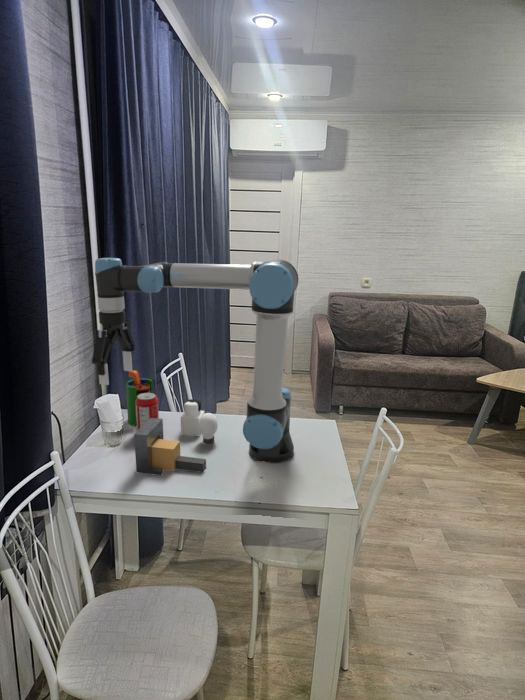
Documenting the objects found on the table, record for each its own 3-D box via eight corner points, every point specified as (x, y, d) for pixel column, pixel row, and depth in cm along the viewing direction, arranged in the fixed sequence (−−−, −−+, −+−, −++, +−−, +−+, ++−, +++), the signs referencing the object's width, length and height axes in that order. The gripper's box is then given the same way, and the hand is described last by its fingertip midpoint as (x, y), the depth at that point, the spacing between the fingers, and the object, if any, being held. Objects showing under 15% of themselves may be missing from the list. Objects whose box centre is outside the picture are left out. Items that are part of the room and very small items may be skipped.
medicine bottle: (186, 426, 168) (186, 396, 165) (205, 427, 167) (204, 398, 164) (180, 434, 161) (179, 404, 158) (199, 436, 160) (199, 405, 157)
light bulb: (221, 440, 157) (221, 412, 154) (210, 448, 152) (210, 419, 149) (205, 436, 160) (205, 408, 157) (194, 443, 155) (194, 414, 152)
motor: (144, 427, 166) (142, 377, 161) (123, 424, 168) (119, 375, 162) (156, 416, 176) (154, 368, 170) (135, 414, 177) (132, 367, 172)
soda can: (140, 440, 156) (138, 401, 152) (134, 432, 162) (132, 393, 158) (162, 436, 160) (160, 397, 156) (155, 427, 166) (154, 390, 162)
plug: (207, 465, 141) (207, 444, 139) (202, 474, 136) (201, 452, 134) (157, 459, 144) (156, 438, 142) (150, 468, 138) (148, 446, 136)
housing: (175, 456, 146) (174, 420, 142) (160, 475, 135) (159, 436, 131) (152, 453, 147) (151, 417, 144) (136, 472, 136) (134, 433, 132)
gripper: (122, 303, 145) (127, 364, 151) (74, 317, 122) (81, 389, 127) (143, 304, 143) (147, 366, 149) (98, 319, 120) (104, 392, 126)
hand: (116, 377), depth 138 cm, fingers open, 13 cm apart
